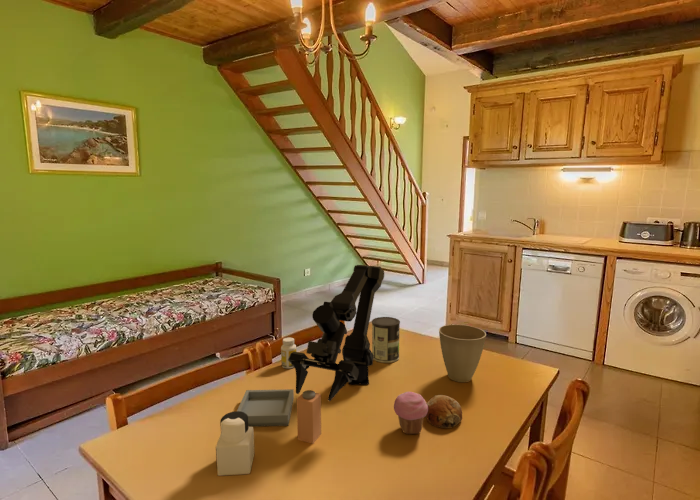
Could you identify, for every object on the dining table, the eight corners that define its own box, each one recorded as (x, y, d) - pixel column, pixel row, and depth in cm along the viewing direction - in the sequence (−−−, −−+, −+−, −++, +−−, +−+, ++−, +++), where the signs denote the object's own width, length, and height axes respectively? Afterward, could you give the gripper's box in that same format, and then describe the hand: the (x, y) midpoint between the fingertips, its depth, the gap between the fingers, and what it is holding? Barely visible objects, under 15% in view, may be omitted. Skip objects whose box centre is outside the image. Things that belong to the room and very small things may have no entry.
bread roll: (462, 427, 113) (464, 397, 116) (460, 432, 104) (462, 399, 106) (426, 421, 117) (428, 392, 119) (421, 424, 107) (424, 393, 109)
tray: (293, 398, 122) (293, 389, 122) (288, 425, 108) (287, 415, 108) (246, 399, 122) (246, 390, 121) (235, 426, 108) (234, 416, 107)
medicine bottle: (224, 455, 96) (221, 408, 95) (254, 453, 97) (252, 406, 95) (216, 476, 89) (213, 426, 87) (250, 474, 90) (247, 424, 88)
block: (306, 430, 106) (305, 387, 105) (321, 433, 105) (320, 391, 103) (297, 439, 102) (296, 395, 101) (313, 443, 101) (312, 399, 99)
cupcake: (432, 438, 103) (433, 401, 101) (398, 442, 101) (399, 404, 100) (420, 418, 111) (421, 384, 110) (389, 421, 110) (389, 387, 108)
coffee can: (397, 351, 157) (398, 316, 155) (400, 363, 147) (401, 325, 144) (371, 351, 157) (371, 316, 155) (372, 363, 147) (372, 325, 145)
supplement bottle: (298, 362, 147) (297, 336, 146) (294, 369, 142) (294, 342, 140) (283, 362, 148) (282, 336, 146) (279, 368, 142) (278, 342, 141)
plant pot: (483, 391, 126) (485, 342, 124) (434, 383, 131) (436, 336, 129) (484, 370, 140) (486, 326, 138) (440, 365, 145) (441, 321, 143)
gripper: (290, 322, 110) (268, 378, 101) (354, 332, 103) (336, 393, 94) (305, 341, 118) (285, 394, 110) (365, 351, 111) (349, 408, 102)
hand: (312, 397), depth 104 cm, fingers open, 9 cm apart
